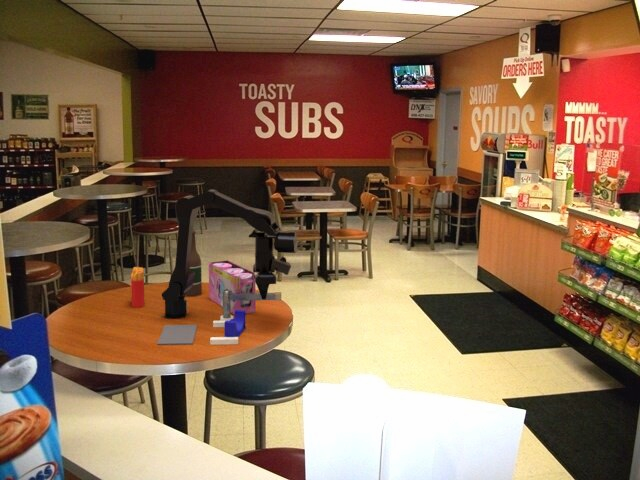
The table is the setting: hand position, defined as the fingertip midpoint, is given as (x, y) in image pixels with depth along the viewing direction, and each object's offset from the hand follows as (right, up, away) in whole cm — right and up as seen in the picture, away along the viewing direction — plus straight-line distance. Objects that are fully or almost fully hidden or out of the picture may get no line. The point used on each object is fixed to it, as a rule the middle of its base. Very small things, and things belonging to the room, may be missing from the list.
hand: (263, 299), depth 194 cm
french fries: (-45, -4, +16) cm, 48 cm away
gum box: (-13, -4, +19) cm, 23 cm away
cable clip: (-8, -10, -10) cm, 17 cm away
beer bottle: (-30, -1, +31) cm, 43 cm away
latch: (-4, -6, +3) cm, 8 cm away
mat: (-25, -10, -12) cm, 29 cm away
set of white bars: (-11, -9, -7) cm, 16 cm away
